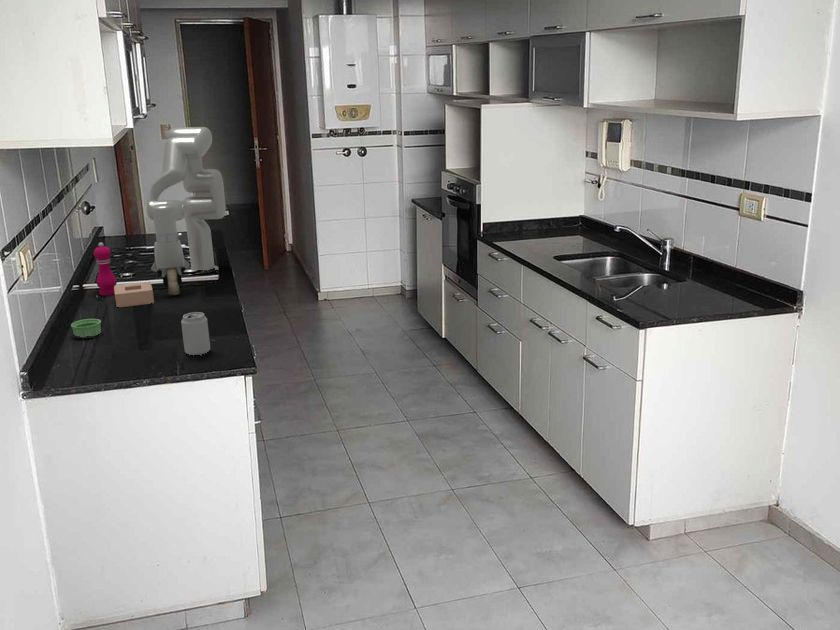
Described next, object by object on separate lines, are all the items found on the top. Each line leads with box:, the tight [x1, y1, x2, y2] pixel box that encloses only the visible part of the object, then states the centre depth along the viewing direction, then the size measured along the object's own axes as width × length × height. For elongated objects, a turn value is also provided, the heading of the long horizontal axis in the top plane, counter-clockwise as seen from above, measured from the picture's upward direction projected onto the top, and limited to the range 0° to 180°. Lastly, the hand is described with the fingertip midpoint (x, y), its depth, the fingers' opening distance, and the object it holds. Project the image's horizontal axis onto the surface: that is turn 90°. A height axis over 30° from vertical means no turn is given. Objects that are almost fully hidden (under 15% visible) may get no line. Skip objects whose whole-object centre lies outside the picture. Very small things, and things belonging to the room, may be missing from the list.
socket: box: [114, 281, 155, 308], centre depth 297 cm, size 13×13×5 cm
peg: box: [165, 268, 180, 296], centre depth 301 cm, size 4×4×10 cm
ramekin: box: [70, 318, 102, 337], centre depth 259 cm, size 9×9×4 cm
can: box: [180, 311, 211, 357], centre depth 239 cm, size 8×8×12 cm
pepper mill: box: [93, 242, 118, 297], centre depth 306 cm, size 7×7×20 cm
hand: (173, 285), depth 301 cm, fingers closed on peg, 4 cm apart
